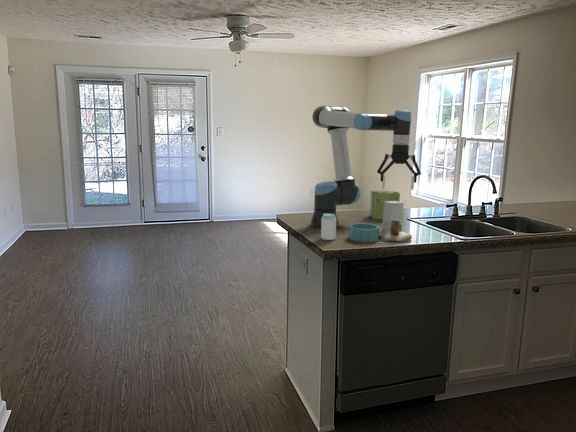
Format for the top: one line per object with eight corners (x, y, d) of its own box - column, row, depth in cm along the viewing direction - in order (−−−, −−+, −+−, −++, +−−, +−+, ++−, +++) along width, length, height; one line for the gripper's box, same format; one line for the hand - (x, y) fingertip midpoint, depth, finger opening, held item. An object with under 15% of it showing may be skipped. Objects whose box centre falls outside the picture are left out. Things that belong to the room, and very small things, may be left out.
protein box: (398, 219, 279) (400, 193, 276) (372, 218, 279) (373, 192, 276) (395, 216, 289) (396, 190, 286) (369, 215, 289) (371, 190, 286)
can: (334, 237, 230) (335, 213, 228) (336, 241, 223) (337, 216, 221) (320, 237, 230) (320, 212, 228) (321, 240, 223) (322, 215, 221)
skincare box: (389, 233, 242) (391, 203, 239) (381, 230, 248) (382, 201, 245) (402, 232, 246) (404, 202, 243) (393, 229, 251) (395, 200, 249)
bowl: (349, 241, 224) (349, 228, 223) (349, 234, 237) (349, 222, 236) (379, 242, 222) (380, 230, 221) (377, 235, 236) (378, 224, 235)
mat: (381, 240, 226) (381, 239, 226) (379, 234, 240) (379, 233, 240) (411, 242, 224) (411, 241, 224) (407, 235, 238) (407, 234, 238)
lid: (379, 240, 225) (380, 223, 223) (376, 232, 241) (377, 216, 239) (413, 241, 223) (414, 224, 222) (409, 234, 239) (410, 218, 237)
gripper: (374, 143, 221) (371, 188, 225) (429, 145, 218) (425, 191, 223) (373, 142, 228) (370, 186, 233) (426, 144, 226) (423, 188, 230)
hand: (397, 188), depth 228 cm, fingers open, 13 cm apart
